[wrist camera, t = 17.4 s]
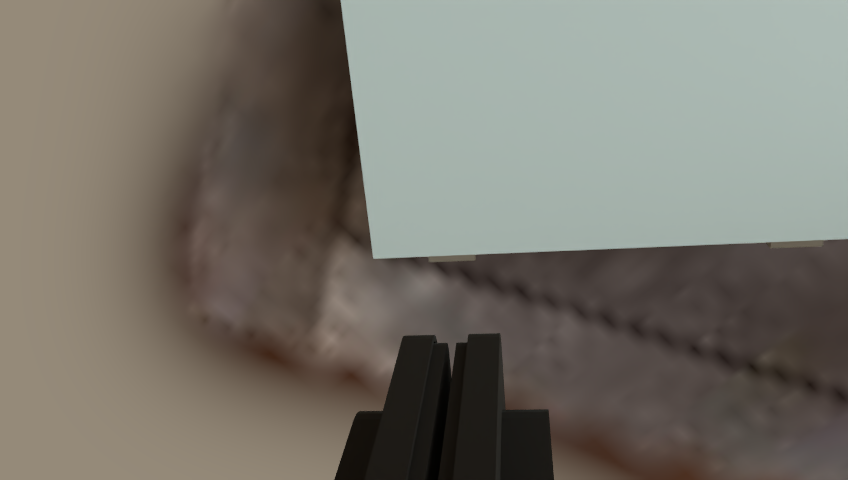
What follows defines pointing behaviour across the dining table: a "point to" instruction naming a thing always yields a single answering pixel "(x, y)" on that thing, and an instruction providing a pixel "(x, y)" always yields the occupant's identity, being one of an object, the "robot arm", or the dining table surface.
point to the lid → (599, 123)
